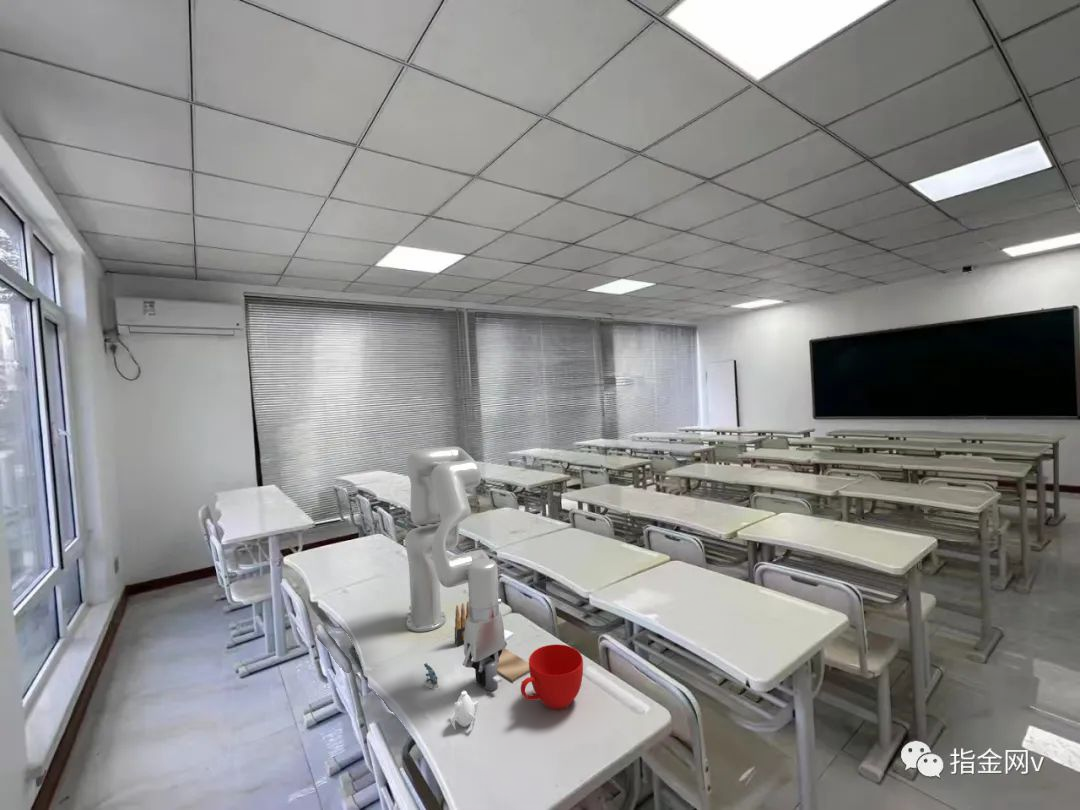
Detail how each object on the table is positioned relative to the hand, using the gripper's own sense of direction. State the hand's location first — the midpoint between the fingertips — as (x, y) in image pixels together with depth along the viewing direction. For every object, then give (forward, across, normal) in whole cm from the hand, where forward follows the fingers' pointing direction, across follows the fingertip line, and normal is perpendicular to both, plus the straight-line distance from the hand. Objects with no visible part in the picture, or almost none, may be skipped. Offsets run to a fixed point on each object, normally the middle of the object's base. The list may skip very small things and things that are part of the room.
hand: (486, 680), depth 114 cm
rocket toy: (+1, +12, +8) cm, 14 cm away
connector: (+1, 0, 0) cm, 1 cm away
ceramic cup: (+1, -6, +17) cm, 18 cm away
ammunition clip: (+1, -10, -21) cm, 23 cm away
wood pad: (+1, -9, -3) cm, 9 cm away
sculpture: (+2, +10, -10) cm, 14 cm away
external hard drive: (+2, -13, -16) cm, 21 cm away
